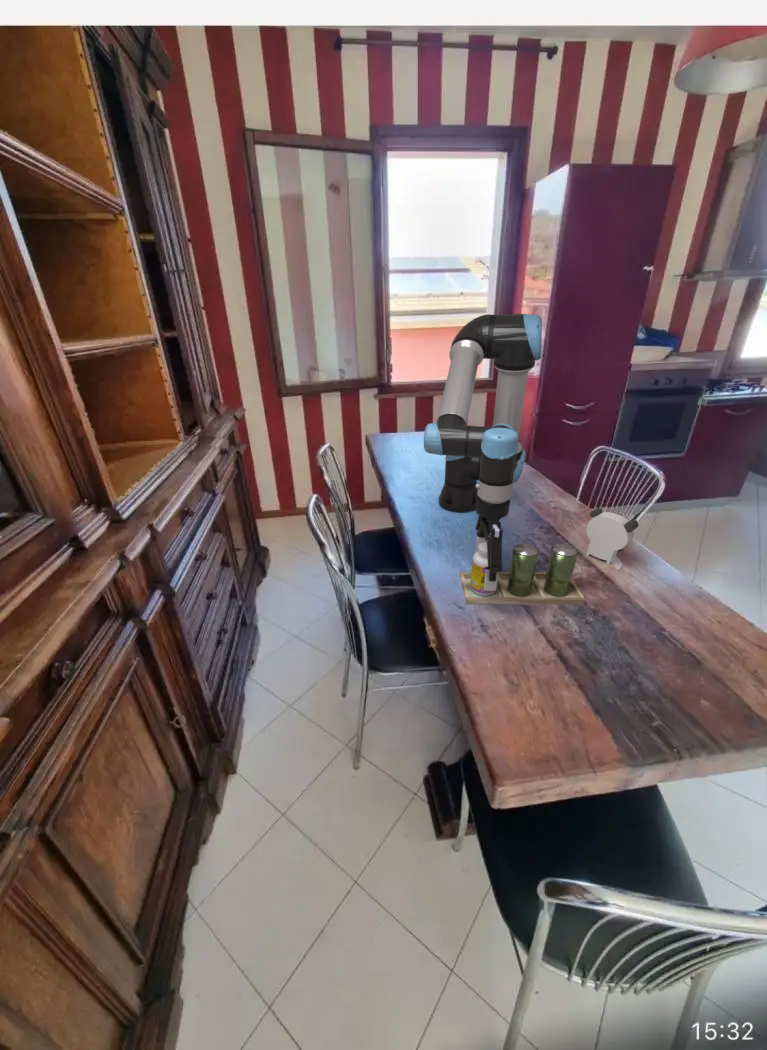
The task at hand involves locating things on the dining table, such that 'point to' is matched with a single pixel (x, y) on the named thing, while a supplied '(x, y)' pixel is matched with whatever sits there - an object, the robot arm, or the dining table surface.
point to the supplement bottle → (480, 571)
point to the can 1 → (522, 570)
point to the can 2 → (560, 570)
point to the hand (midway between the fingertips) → (484, 573)
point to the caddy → (534, 598)
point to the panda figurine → (609, 535)
